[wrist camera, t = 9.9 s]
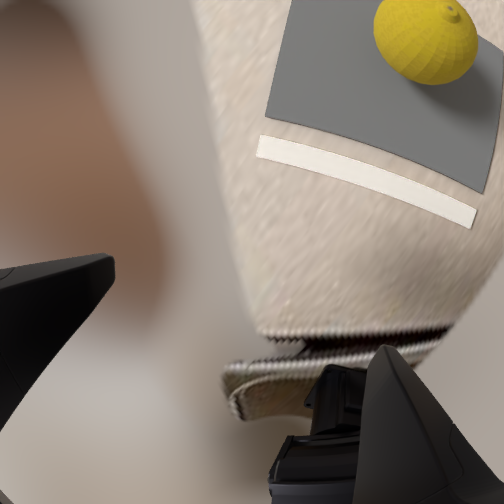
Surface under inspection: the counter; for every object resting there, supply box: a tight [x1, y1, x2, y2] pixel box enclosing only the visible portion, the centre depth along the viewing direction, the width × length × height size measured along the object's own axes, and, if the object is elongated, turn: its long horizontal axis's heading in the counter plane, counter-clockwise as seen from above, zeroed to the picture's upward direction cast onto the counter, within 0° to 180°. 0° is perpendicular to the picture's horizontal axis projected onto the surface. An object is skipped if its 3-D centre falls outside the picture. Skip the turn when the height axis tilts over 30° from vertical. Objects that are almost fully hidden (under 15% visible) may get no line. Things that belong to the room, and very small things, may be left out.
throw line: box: [256, 135, 477, 229], centre depth 16 cm, size 2×16×1 cm, turn 79°
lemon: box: [374, 0, 478, 85], centre depth 9 cm, size 6×6×8 cm
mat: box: [265, 0, 503, 194], centre depth 13 cm, size 12×16×1 cm
